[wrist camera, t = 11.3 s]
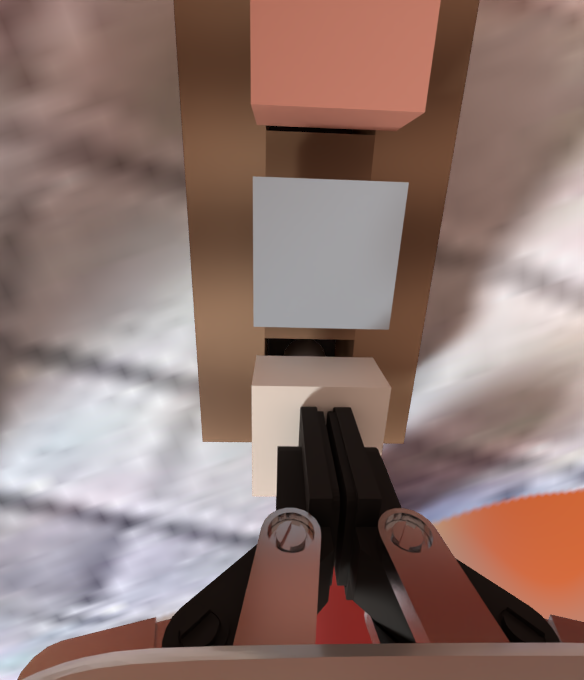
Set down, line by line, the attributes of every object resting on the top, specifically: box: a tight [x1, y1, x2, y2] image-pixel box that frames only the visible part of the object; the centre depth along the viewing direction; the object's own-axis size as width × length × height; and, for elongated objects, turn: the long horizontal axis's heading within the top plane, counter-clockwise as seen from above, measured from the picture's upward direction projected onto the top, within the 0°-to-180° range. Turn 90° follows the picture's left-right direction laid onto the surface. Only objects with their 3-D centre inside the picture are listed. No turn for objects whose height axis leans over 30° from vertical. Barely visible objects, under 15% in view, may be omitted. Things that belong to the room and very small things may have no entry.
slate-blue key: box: [253, 176, 409, 330], centre depth 14 cm, size 4×4×7 cm
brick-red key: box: [250, 0, 441, 131], centre depth 12 cm, size 4×4×7 cm
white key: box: [252, 339, 391, 496], centre depth 15 cm, size 4×4×7 cm
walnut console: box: [174, 0, 479, 444], centre depth 17 cm, size 19×10×5 cm, turn 178°
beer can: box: [315, 569, 372, 644], centre depth 21 cm, size 7×7×12 cm
